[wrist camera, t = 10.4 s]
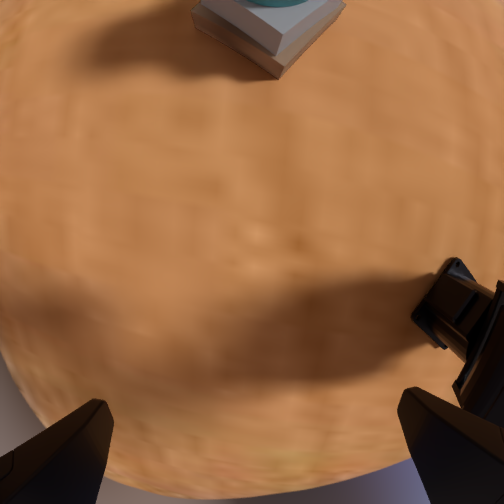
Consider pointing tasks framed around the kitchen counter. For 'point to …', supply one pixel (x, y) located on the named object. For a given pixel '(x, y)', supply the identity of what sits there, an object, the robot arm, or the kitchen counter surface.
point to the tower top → (272, 19)
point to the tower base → (251, 48)
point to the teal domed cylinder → (277, 2)
